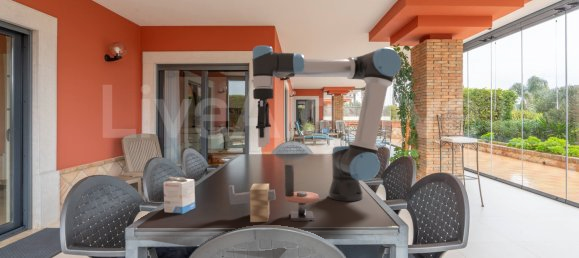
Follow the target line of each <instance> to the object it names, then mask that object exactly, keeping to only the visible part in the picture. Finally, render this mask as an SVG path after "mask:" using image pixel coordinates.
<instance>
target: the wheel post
mask: <svg viewBox="0 0 579 258" xmlns="http://www.w3.org/2000/svg"><path fill="white" fill-rule="evenodd" d="M314 216H315V215H314V214H313V211H312V210H307V203H297V210H296V211H295V210H291V211H290V221H291V222H304V221H305V222H308V221H309V222H310V220H312V221H313V220H314V221H315V217H314ZM312 221H311V222H312ZM314 221H313V222H314Z"/></svg>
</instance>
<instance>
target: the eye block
mask: <svg viewBox="0 0 579 258" xmlns="http://www.w3.org/2000/svg"><path fill="white" fill-rule="evenodd" d="M269 190H270V183H253V184H252V185H251V186H250V189H249V192H250V203H249V204H250V205H249V209H250V213H249V216H250V218H249V219H250V223H268V222H269V218H270V217H269V216H270V201H268V191H269Z"/></svg>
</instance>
